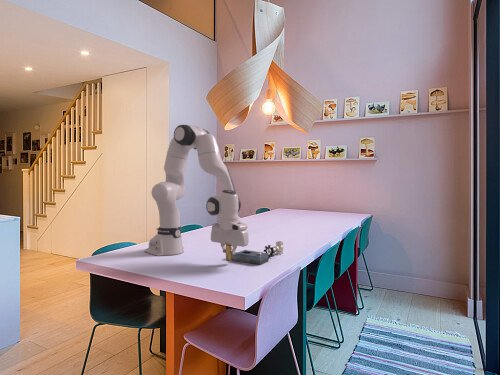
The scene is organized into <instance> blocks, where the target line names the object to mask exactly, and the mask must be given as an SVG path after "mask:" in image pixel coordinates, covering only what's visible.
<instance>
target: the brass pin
mask: <svg viewBox="0 0 500 375" xmlns="http://www.w3.org/2000/svg"><path fill="white" fill-rule="evenodd" d="M225 244H226V245H225V247H226V253H225V261H226V262H230V261H232V254H231V250H232V249H233V247H232V245H229V244H228V242H226V243H225Z"/></svg>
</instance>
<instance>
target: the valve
mask: <svg viewBox="0 0 500 375" xmlns="http://www.w3.org/2000/svg"><path fill="white" fill-rule="evenodd" d="M275 245H276V246H271V244H268V245H266V246H265V245H264V248H265V249H263V253H268V259H269V258H271V257H275V256H274V254H276V255H277V254H279V255H281V254H282V255H283V254H284V242H283V241H280V240H279V241H275ZM282 255H281V256H282Z"/></svg>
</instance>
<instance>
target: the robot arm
mask: <svg viewBox="0 0 500 375" xmlns="http://www.w3.org/2000/svg"><path fill="white" fill-rule="evenodd" d="M219 148H220V147H219V144H218V142H217V139H216V137H215V136H214V135H213V134H211V133H210V132H209V131H208V130H206V129H204V128H201V127H198V126H194V125H193V126H192V125H188V124H180V125H178V126H177V127H176V128H175V129H174V131H173V137H172V138H171V140H170V143H169V144H168V148H167V152H166V156H165V161H164V166H163V171H164V173H165V181H160V182H159V183H156V184H155V185H154V186H153V187H152V188H151V196H152V199H153V200H154V201H155V202H156V205H157V209H158V215H159V216H158V217H159V227H156V228H155V229H156V231H157V233H156V234H155V235H154V236H153V237H152V238H151V239H149V241H148V248H145V249H144V250H143V251H144V253H148V254H151V255H154V256H157V257H159V256H160V257H162V256H174V255H179V254H182V253H184V252H185V251H184V246H183V239H182V235H181V233H182V226H181V212H180V211H181V210H179V208H178V205H177V202H176V201H178V200H180V199H182V198H183V197H184V196H185V195H186V188H187V187H186V186H185V170H186V166H187V161H188V157H189V152H190V150H191V149H193V150H196V152H197V157H198V164H199V166H200V169H202V170H203V172H205V173H207V174H209V175H212V176H214V177H215V178H217V179H218V180H219V181H220V183H221V185H222V188H223V190H221V191H220V192H219V193H218V194H217V195H214V196H210V197H209V198H208V199H207V201H206V208H205V209H206V212H207V213H208V214H209V215H210V216H213V217H218V216H219V222H214V223H213V224H211V232H210V241H211V242H212V243H219V244H220V247H221V249H222V253H224V254H226V244H225V243H226V242H228V244H229V245H232V250H231V254H235V252H236V250H237V248H238V247H241V248H242V247H244V248H245V247H246V246H248V245H249V232H248V230H247V229H248V224H246V223H245V222H243V221H241V220H239V214H238V213H239V212H240V210H241V206H242V203H241V200H240V197H239V196H238V193H237V190H236V188H235V185H234V181H233V179H232V174H231V172H230V170H229V168H228V166H227V165H226V164H225V163H224V161H223V159H222V157H221V152H220V149H219Z"/></svg>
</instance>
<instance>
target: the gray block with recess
mask: <svg viewBox="0 0 500 375" xmlns="http://www.w3.org/2000/svg"><path fill="white" fill-rule="evenodd" d="M268 254H269V253H268V252H267V253H266V252H264V251H263V252H261V251H254V250H247V249H244V250H240V251H238V252H236V251H235V254H232V261H233V262H239V263H245V264H251V265H257V266H262V265H264V264H266V263H268V262H269V258H268Z"/></svg>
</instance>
